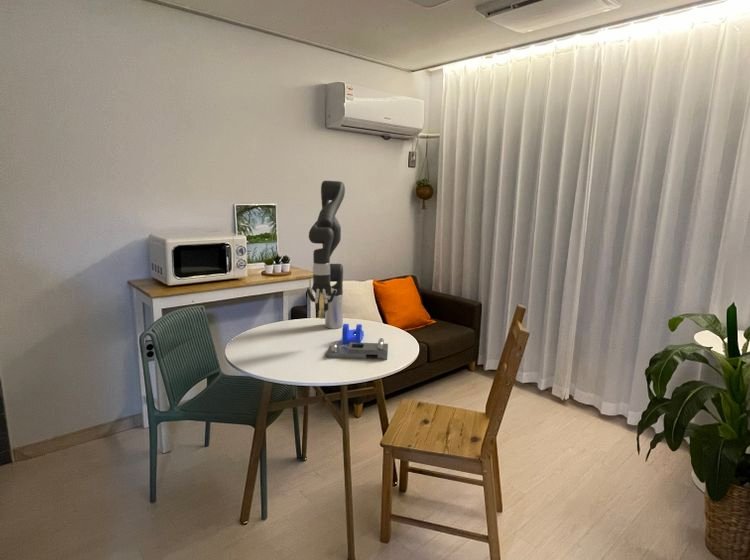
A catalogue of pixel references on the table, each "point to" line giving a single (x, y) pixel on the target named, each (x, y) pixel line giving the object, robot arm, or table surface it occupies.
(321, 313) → the pin
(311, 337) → the table surface
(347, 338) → the bracket
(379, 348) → the grey plate with pins
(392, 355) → the table surface
